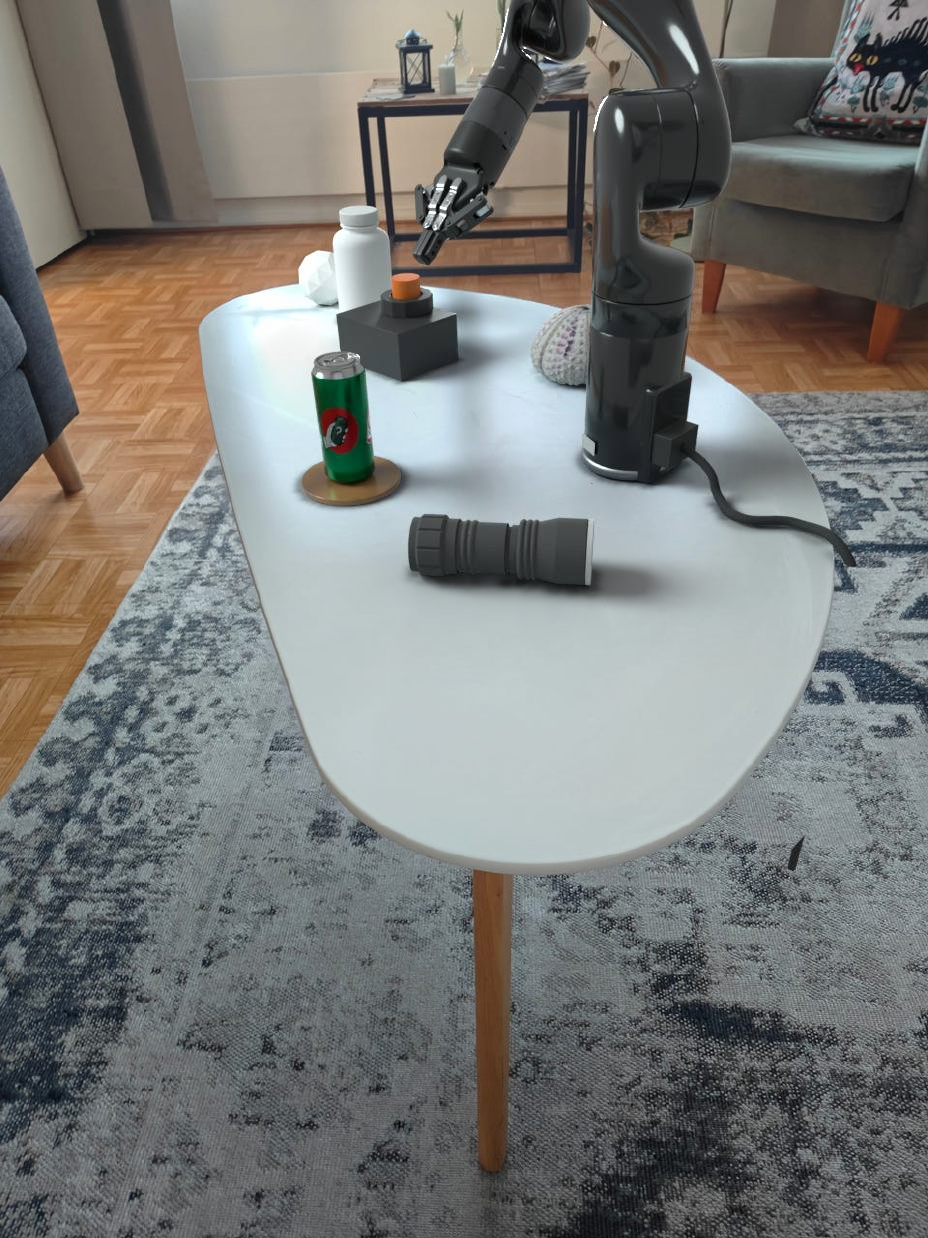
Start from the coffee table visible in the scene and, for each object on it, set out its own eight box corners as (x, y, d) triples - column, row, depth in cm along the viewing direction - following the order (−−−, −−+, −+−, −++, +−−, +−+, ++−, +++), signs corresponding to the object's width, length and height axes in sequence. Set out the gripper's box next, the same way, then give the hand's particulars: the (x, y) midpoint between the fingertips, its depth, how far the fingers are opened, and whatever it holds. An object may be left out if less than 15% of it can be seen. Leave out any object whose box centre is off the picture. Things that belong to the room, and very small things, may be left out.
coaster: (421, 479, 91) (421, 474, 90) (344, 516, 85) (343, 511, 85) (358, 450, 97) (357, 445, 96) (282, 483, 91) (281, 478, 91)
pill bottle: (392, 327, 129) (384, 215, 120) (337, 328, 129) (324, 216, 120) (397, 309, 135) (389, 201, 126) (344, 311, 135) (332, 203, 126)
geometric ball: (331, 316, 142) (345, 266, 142) (348, 310, 135) (363, 258, 135) (286, 297, 139) (300, 246, 138) (301, 290, 132) (316, 236, 131)
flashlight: (405, 587, 75) (400, 531, 72) (417, 553, 80) (413, 499, 76) (589, 597, 73) (592, 541, 70) (592, 562, 77) (595, 506, 74)
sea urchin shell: (657, 381, 109) (663, 314, 105) (557, 400, 106) (559, 332, 101) (604, 346, 120) (608, 285, 115) (511, 363, 116) (511, 300, 111)
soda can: (384, 478, 90) (373, 361, 83) (337, 491, 88) (322, 373, 81) (362, 459, 94) (350, 345, 87) (317, 471, 92) (301, 356, 85)
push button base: (459, 359, 118) (457, 296, 113) (401, 382, 112) (396, 317, 107) (399, 339, 125) (394, 279, 120) (341, 359, 119) (334, 298, 114)
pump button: (426, 296, 115) (425, 276, 113) (405, 303, 113) (404, 282, 111) (407, 291, 117) (406, 271, 115) (386, 298, 115) (385, 277, 113)
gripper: (433, 114, 114) (368, 235, 115) (509, 122, 107) (440, 252, 107) (464, 154, 121) (402, 269, 121) (538, 164, 113) (472, 287, 113)
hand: (420, 260), depth 114 cm, fingers closed
